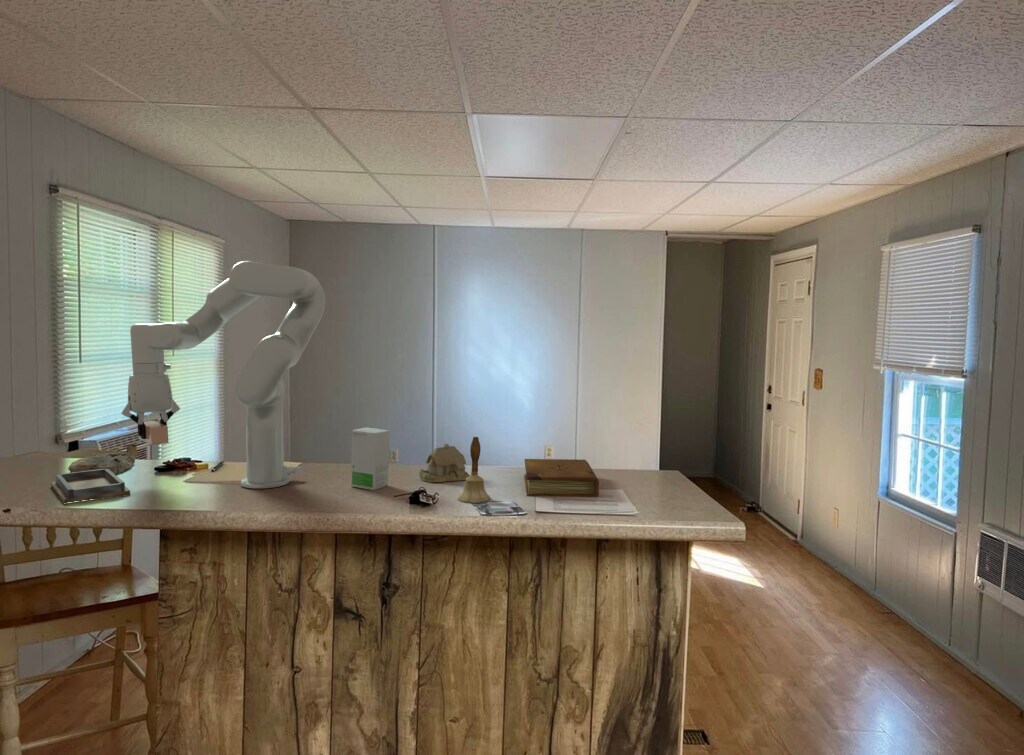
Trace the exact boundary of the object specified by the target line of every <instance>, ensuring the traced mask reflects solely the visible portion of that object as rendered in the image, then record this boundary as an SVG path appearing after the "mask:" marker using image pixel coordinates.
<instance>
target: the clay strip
mask: <svg viewBox="0 0 1024 755" xmlns="http://www.w3.org/2000/svg"><path fill="white" fill-rule="evenodd" d="M143 422H144V424H145V425H146V426H145V427H146V439H142V438H141V436H139V435H138V434H137V436H138V440H141V441H143V442H145V443H146V444H148V445H151V446H156V445H164V444H169V430H168V425H167V426H166V425H163V424H160V423H159V422H158V421H155V420H150V421H143Z"/></svg>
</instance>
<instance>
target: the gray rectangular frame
mask: <svg viewBox="0 0 1024 755" xmlns="http://www.w3.org/2000/svg"><path fill="white" fill-rule="evenodd" d="M55 479H56V481H51V483H50V484H51V485H50V486H51V488H52V487H53V488H52V490H53V489H54V490H55V491H56V492H55V491H54V490H53V491H54V492H55V494H56V493H57V494H58V495H59V496H58V495H57V494H56V495H57V496H58V498H59V497H60V498H61V499H62V501H63V502H64V503H67V502H74V501H82V500H90V499H100V500H103V499H102V498H107V499H110V498H109V497H114V498H117V497H116V496H121V497H125V496H124V495H128V496H131V490H130V489H129V488H128V486H125V485H126V484H125V482H124V480H122V479H121V478H120V477H119V476H118V475H117V474H116V475H115V474H114V473H113V472H111V471H110V470H109V469H98V470H89V471H81V472H72V473H70V472H65V473H60V474H56V475H55ZM60 498H59V499H60ZM61 499H60V500H61ZM62 501H61V502H62ZM63 502H62V503H63ZM64 503H63V504H64Z"/></svg>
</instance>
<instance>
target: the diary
mask: <svg viewBox="0 0 1024 755" xmlns="http://www.w3.org/2000/svg"><path fill="white" fill-rule="evenodd" d="M524 467H525V468H524V469H525V473H526V474H523V476H524V477H523V478H524V484H525V491H526V492H525V493H526V497H556V498H557V497H560V498H561V497H566V498H567V497H568V498H570V497H572V498H574V497H575V498H579V497H580V498H590V497H591V498H598V497H599V495H600V494H599V493H600V492H599V490H600V481H599V478H598V477H597V475H596V474H595V472H594V471H593V469H592V467H591V465H590V463H589V462H588V460H586V459H566V458H565V459H562V458H561V459H559V458H554V459H553V458H552V459H551V458H524Z"/></svg>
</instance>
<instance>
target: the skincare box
mask: <svg viewBox="0 0 1024 755" xmlns="http://www.w3.org/2000/svg"><path fill="white" fill-rule="evenodd" d="M351 431H352V432H351V459H350V460H351V462H350V463H351V466H350V467H351V468H350V487H354V488H360V489H365V490H371V491H376V490H378V489H382V488H385V487H388V485H389V462H390V461H389V456H390V455H389V454H390V430H387V429H380V428H373V427H367V426H366V427H361V428H357V429H352V430H351Z"/></svg>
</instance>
